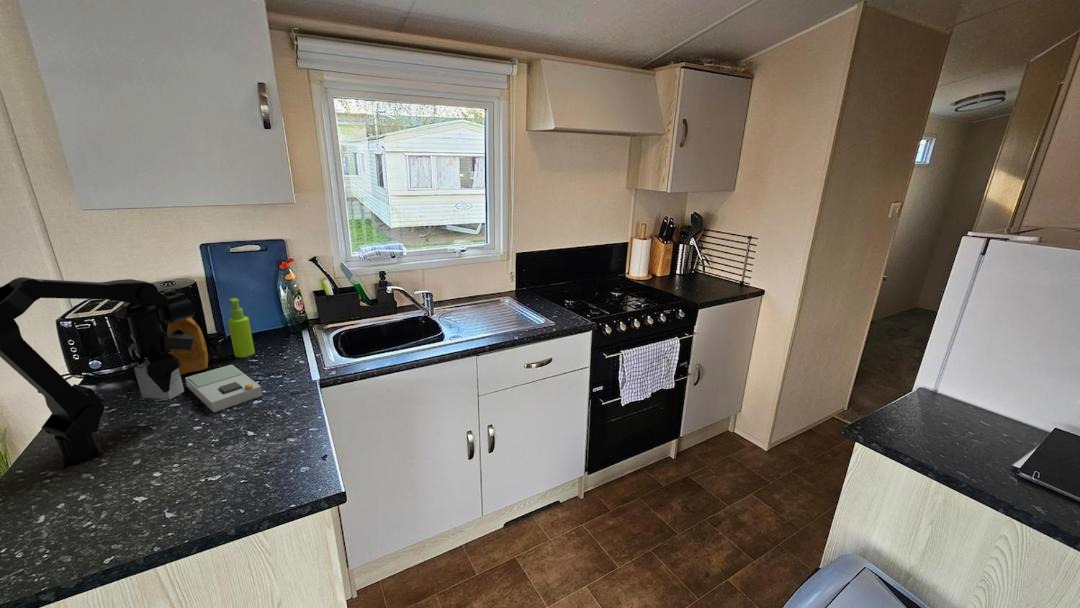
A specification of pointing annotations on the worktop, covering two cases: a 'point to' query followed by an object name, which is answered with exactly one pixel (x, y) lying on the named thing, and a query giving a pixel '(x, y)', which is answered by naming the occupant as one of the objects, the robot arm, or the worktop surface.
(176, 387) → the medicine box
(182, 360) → the amber trigger bottle
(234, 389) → the push button
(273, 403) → the worktop surface
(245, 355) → the soap dispenser
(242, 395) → the switch panel
